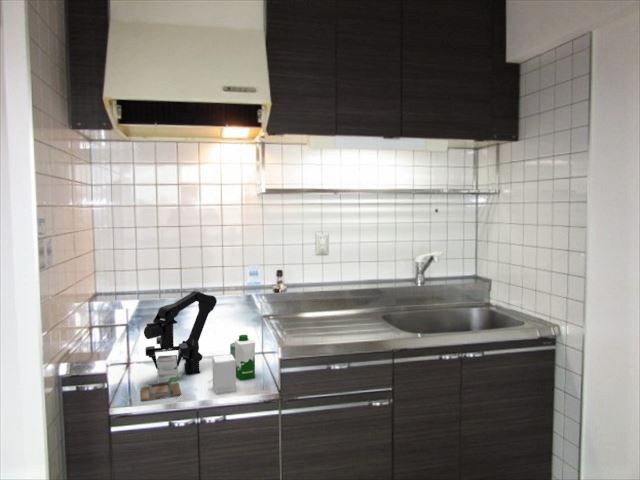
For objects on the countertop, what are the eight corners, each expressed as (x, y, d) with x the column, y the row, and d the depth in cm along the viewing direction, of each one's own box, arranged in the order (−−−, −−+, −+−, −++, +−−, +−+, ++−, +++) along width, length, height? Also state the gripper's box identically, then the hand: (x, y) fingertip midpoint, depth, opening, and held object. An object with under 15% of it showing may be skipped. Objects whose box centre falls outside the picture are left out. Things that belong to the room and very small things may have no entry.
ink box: (178, 378, 221) (177, 354, 220) (176, 382, 216) (176, 357, 216) (159, 380, 220) (158, 355, 219) (157, 383, 215) (156, 358, 214)
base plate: (178, 384, 214) (178, 379, 214) (181, 395, 201) (181, 390, 201) (140, 389, 208) (140, 384, 208) (141, 401, 195) (141, 396, 195)
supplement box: (236, 393, 203) (236, 359, 202) (215, 396, 200) (215, 362, 199) (232, 386, 212) (232, 353, 211) (212, 389, 209) (212, 356, 208)
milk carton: (251, 374, 228) (250, 333, 226) (257, 380, 220) (257, 338, 218) (233, 377, 224) (232, 335, 222) (239, 383, 216) (238, 340, 214)
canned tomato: (244, 368, 236) (244, 346, 236) (228, 368, 236) (228, 346, 236) (247, 362, 244) (246, 342, 244) (232, 362, 244) (231, 342, 244)
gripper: (185, 328, 227) (186, 360, 228) (144, 332, 221) (145, 364, 221) (188, 334, 217) (188, 367, 218) (145, 337, 210) (146, 372, 211)
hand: (167, 367), depth 217 cm, fingers closed on ink box, 9 cm apart
